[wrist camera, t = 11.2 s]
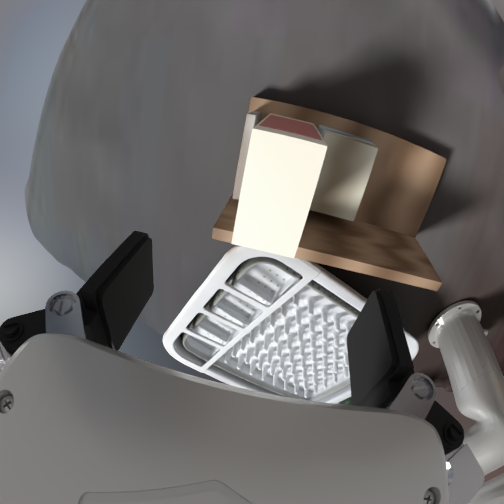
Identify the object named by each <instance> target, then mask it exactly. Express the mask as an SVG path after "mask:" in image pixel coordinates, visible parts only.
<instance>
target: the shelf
mask: <svg viewBox="0 0 504 504" xmlns="http://www.w3.org/2000/svg"><path fill="white" fill-rule="evenodd" d="M269 114H275V115H280V116H284V117H289V118H293V119H297V120H301V121H305V122H309V123H313V124H314V125H315V126H316V128H317V129H318V131H319V133H320V134H321V136H322V138H323V140H324V141H325V143H326V145H327V150H326V154H325V157H324V161H323V165H322V168H321V172H320V175H319V179H318V182H317V186H316V189H315V192H314V196H313V199H312V203H311V206H310V209H309V213H308V216H307V219H306V222H305V226H304V229H303V232H302V235H301V239H300V242H299V245H298V248H297V251H296V254H295V257H294V258H299V259H303V260H307V261H312V262H316V263H320V264H324V265H329V266H333V267H337V268H341V269H346V270H350V271H354V272H358V273H363V274H367V275H371V276H375V277H380V278H384V279H388V280H392V281H396V282H401V283H405V284H409V285H413V286H417V287H422V288H426V289H430V290H434V291H437V290H438V289H439V287H440V286H441V284H442V282H441V280H440V278H439V276H438V275H437V273H436V271H435V269H434V268H433V266H432V264H431V263H430V261H429V259H428V258H427V256H426V254H425V253H424V251H423V250H422V248H421V246H420V245H419V243H418V242H417V240H416V239H415V237H416V235H417V232H418V230H419V228H420V226H421V224H422V221H423V219H424V217H425V215H426V212H427V210H428V207H429V205H430V203H431V200H432V198H433V195H434V193H435V190H436V188H437V185H438V182H439V180H440V177H441V174H442V171H443V169H444V166H445V163H446V160H447V159H446V158H444V157H442V156H441V155H438V154H436V153H434V152H432V151H430V150H428V149H425V148H423V147H421V146H419V145H416V144H414V143H412V142H409V141H407V140H404V139H402V138H399V137H397V136H394V135H392V134H389V133H386V132H384V131H381V130H378V129H376V128H373V127H370V126H367V125H364V124H361V123H358V122H355V121H352V120H349V119H345V118H342V117H339V116H335V115H332V114H328V113H325V112H321V111H317V110H314V109H310V108H306V107H302V106H297V105H293V104H289V103H284V102H279V101H274V100H269V99H264V98H259V97H251V101H250V107H249V112H248V114H247V118H246V123H245V129H244V134H243V140H242V145H241V151H240V157H239V163H238V168H237V174H236V180H235V186H234V192H233V194H232V196H231V198H230V199H229V201H228V203H227V204H226V206H225V208H224V210H223V211H222V213H221V215H220V217H219V218H218V220H217V222H216V224H215V225H214V227H213V234H212V239H217V240H221V241H225V242H230V243H232V237H233V231H234V226H235V220H236V214H237V209H238V203H239V197H240V192H241V186H242V181H243V175H244V170H245V165H246V159H247V154H248V149H249V143H250V138H251V133H252V128H254V127H255V126H256V125H257V124H258V123H259V122H261V121H262V120H263V119H264V118H265V117H267V116H268V115H269Z"/></svg>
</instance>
